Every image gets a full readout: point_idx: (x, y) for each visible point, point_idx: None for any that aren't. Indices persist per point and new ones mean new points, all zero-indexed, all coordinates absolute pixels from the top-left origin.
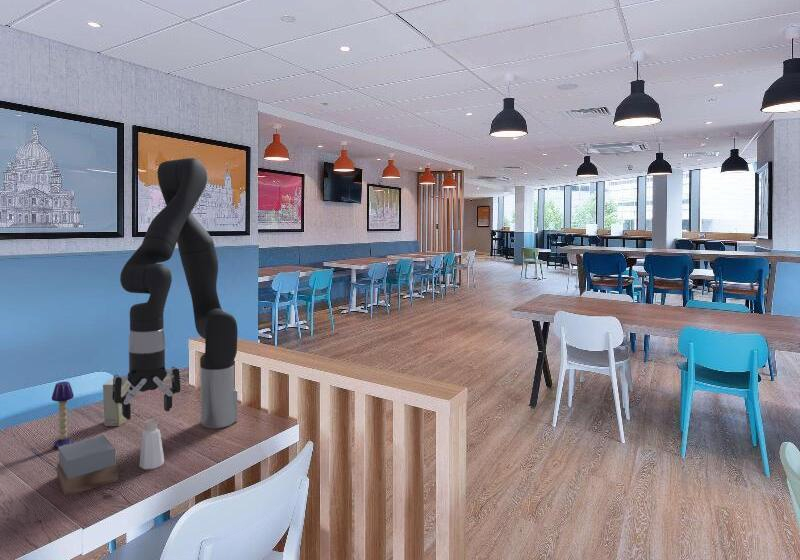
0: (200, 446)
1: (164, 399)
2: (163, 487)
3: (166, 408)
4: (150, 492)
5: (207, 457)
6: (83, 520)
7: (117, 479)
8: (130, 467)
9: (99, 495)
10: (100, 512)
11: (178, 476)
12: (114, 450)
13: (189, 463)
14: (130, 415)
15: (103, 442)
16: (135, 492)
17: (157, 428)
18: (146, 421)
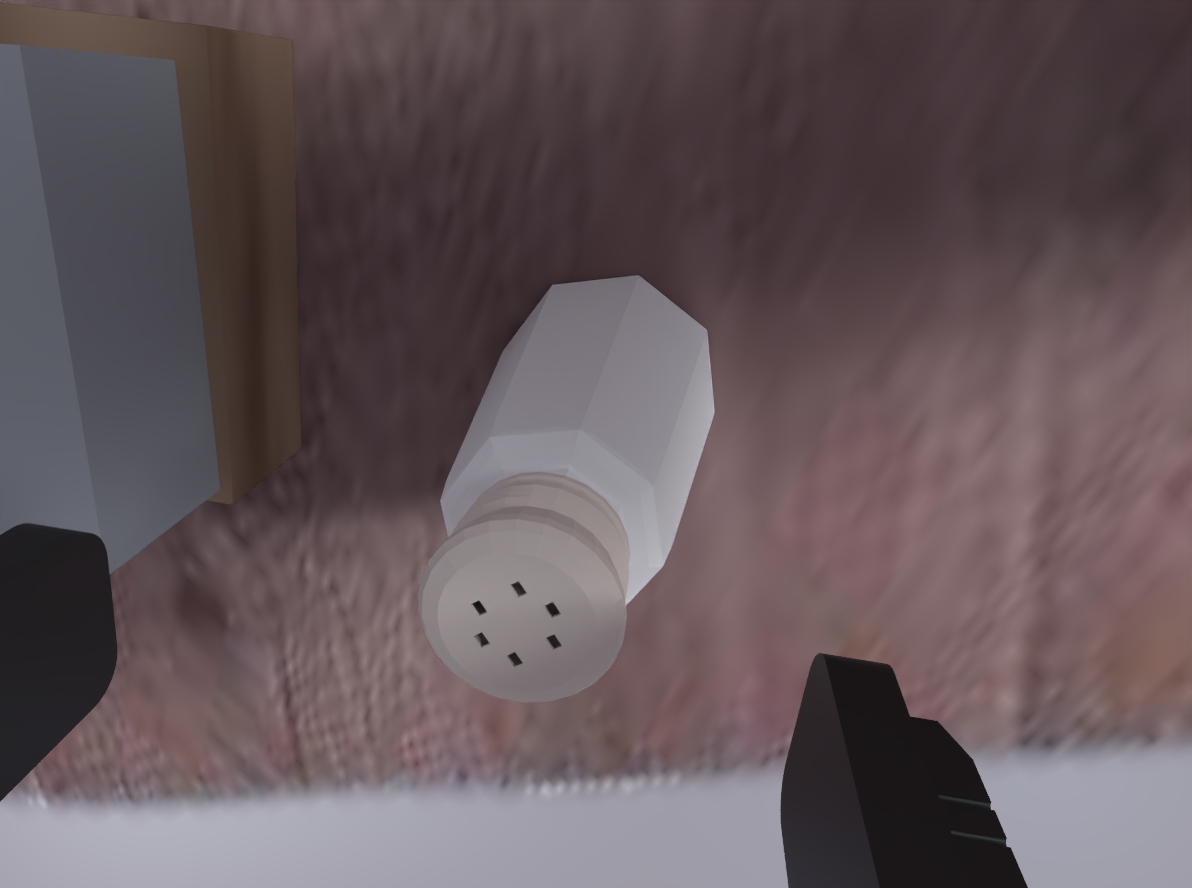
0: (1157, 361)
1: (852, 877)
2: (525, 765)
3: (787, 849)
4: (436, 758)
5: (1028, 617)
6: (53, 749)
7: (293, 450)
8: (441, 294)
9: (157, 558)
10: (140, 743)
11: (672, 714)
12: (116, 564)
13: (850, 600)
14: (62, 735)
15: (4, 314)
16: (359, 691)
17: (649, 530)
18: (445, 611)
